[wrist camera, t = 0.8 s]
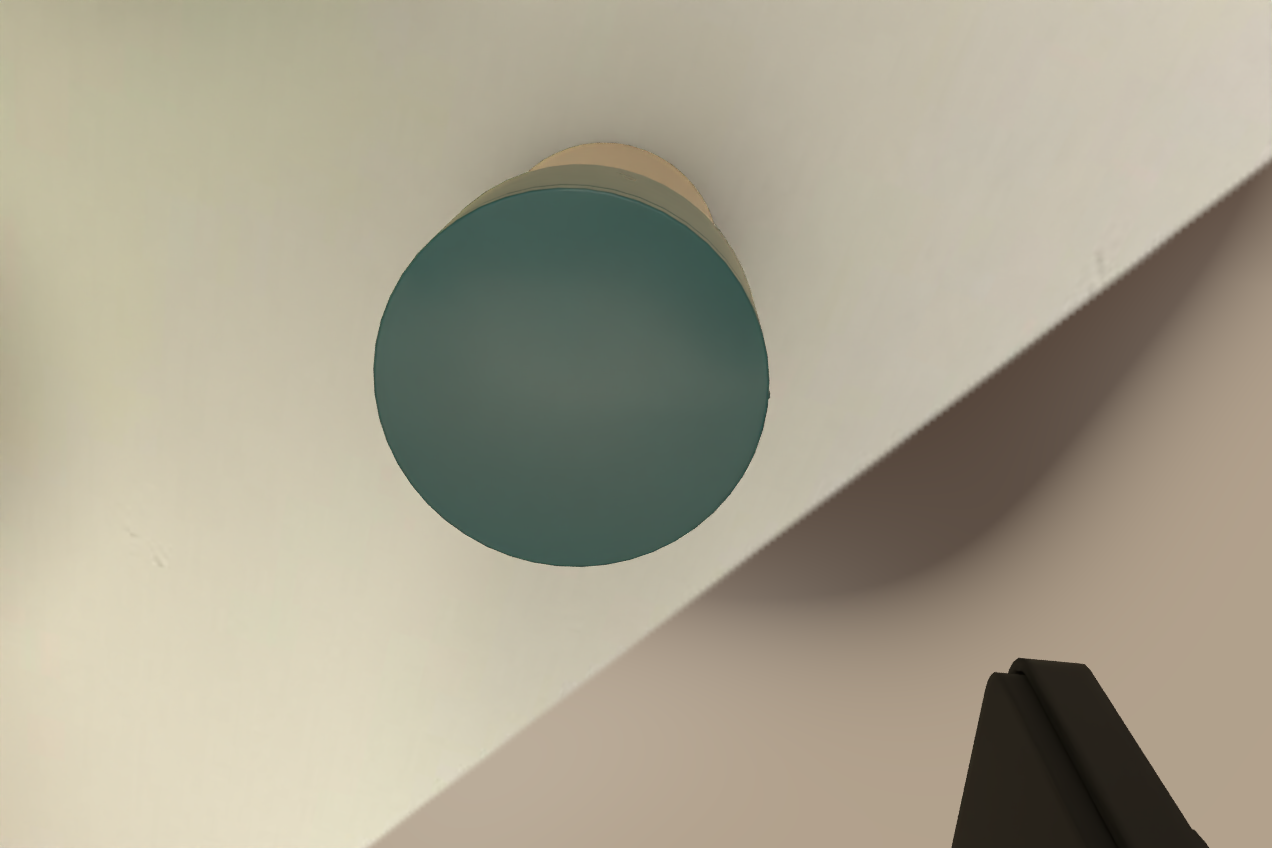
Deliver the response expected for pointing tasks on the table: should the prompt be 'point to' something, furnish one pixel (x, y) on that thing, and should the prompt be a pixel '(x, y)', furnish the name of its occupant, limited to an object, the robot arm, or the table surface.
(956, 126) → the table surface
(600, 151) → the jar
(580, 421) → the jar lid
